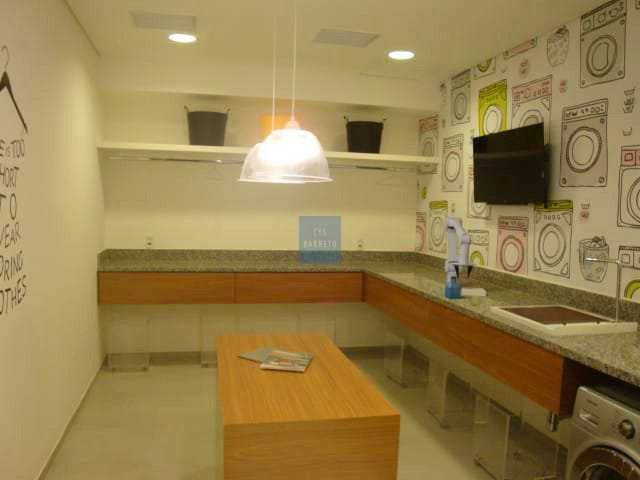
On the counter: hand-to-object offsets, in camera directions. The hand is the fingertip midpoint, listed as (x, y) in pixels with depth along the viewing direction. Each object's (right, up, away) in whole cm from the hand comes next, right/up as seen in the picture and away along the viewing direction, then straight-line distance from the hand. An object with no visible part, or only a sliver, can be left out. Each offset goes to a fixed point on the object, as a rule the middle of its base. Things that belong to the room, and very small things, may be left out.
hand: (462, 278), depth 304 cm
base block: (+6, -9, 0) cm, 11 cm away
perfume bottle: (-10, -10, -16) cm, 21 cm away
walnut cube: (0, -2, 0) cm, 2 cm away
